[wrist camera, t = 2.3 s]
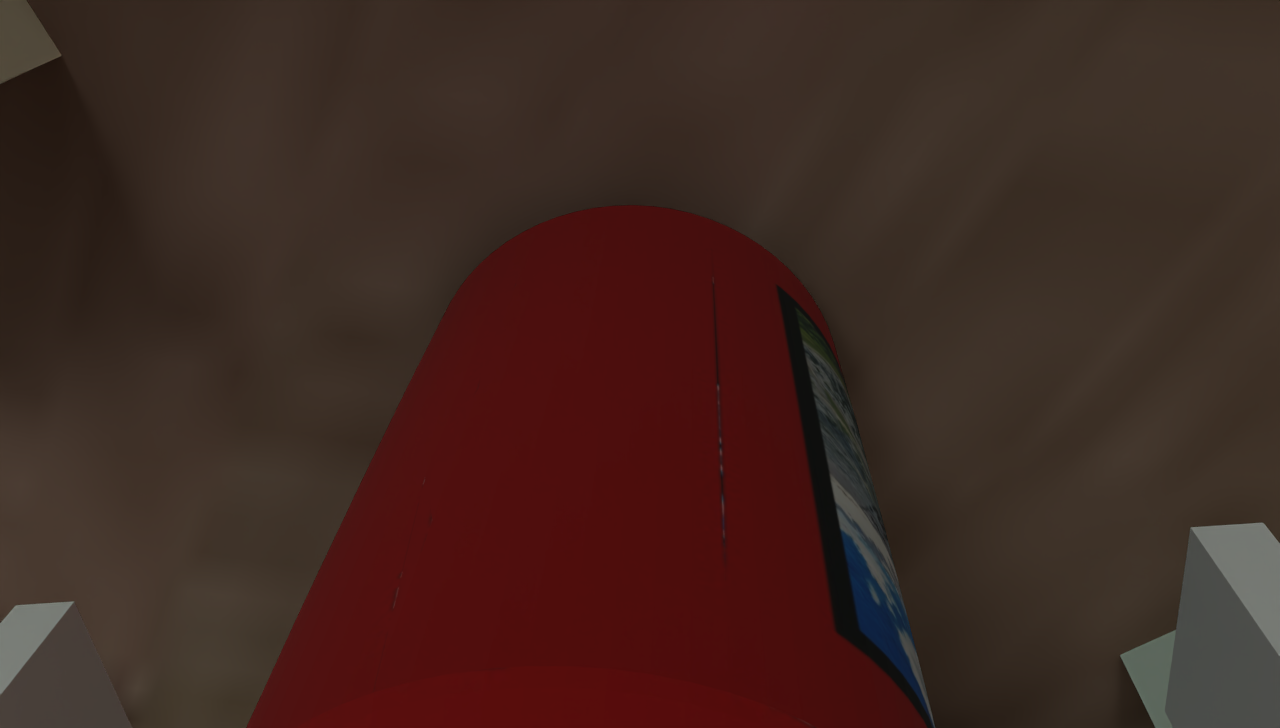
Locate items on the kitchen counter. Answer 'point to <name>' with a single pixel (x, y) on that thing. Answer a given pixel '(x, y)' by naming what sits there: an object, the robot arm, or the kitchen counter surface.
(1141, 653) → the cube sage
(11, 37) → the cube beech
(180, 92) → the kitchen counter surface
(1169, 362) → the kitchen counter surface
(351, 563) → the beverage can
